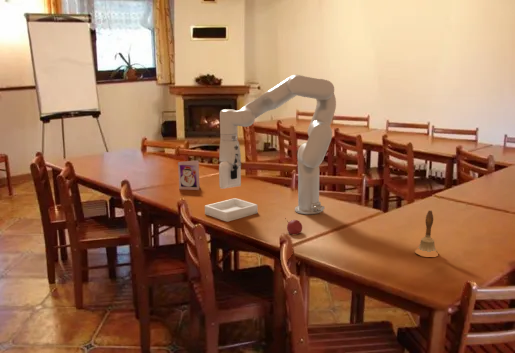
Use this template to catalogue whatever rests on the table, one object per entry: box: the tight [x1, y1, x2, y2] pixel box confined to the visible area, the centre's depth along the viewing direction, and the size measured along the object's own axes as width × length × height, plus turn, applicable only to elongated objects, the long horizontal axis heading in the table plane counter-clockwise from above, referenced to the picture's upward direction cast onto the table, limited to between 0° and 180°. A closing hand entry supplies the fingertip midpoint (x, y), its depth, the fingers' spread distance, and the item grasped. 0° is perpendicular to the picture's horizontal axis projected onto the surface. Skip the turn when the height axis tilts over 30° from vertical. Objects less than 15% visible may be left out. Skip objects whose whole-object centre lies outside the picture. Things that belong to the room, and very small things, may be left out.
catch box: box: [204, 197, 259, 222], centre depth 232 cm, size 16×18×4 cm
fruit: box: [285, 218, 303, 235], centre depth 206 cm, size 6×6×8 cm
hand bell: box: [417, 210, 437, 252], centre depth 180 cm, size 8×8×16 cm
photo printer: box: [218, 161, 242, 189], centre depth 228 cm, size 10×4×12 cm, turn 124°
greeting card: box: [177, 160, 201, 191], centre depth 278 cm, size 11×7×15 cm, turn 76°
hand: (230, 177), depth 229 cm, fingers closed on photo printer, 4 cm apart
